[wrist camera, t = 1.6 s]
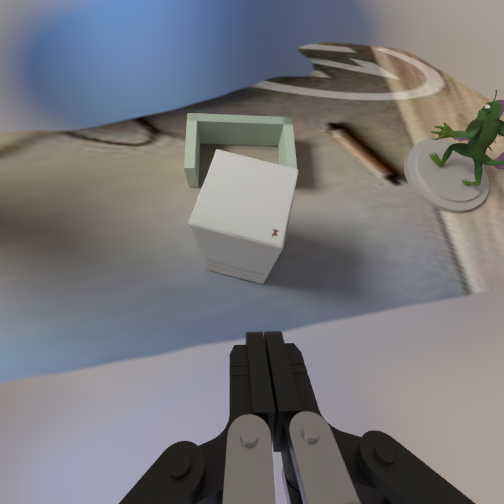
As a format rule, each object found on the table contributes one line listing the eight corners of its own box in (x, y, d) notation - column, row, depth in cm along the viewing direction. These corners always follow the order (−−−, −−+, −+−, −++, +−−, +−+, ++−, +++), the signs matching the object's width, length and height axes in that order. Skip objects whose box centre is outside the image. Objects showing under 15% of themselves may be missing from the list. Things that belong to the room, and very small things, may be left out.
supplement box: (277, 230, 33) (303, 168, 21) (263, 285, 31) (284, 251, 19) (221, 215, 33) (215, 145, 21) (202, 269, 31) (185, 224, 19)
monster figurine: (464, 140, 41) (537, 78, 31) (497, 209, 37) (591, 162, 27) (393, 144, 39) (446, 80, 30) (419, 216, 36) (490, 169, 26)
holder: (290, 188, 35) (297, 170, 32) (189, 187, 34) (184, 167, 30) (285, 139, 38) (291, 117, 34) (191, 136, 37) (187, 113, 33)
